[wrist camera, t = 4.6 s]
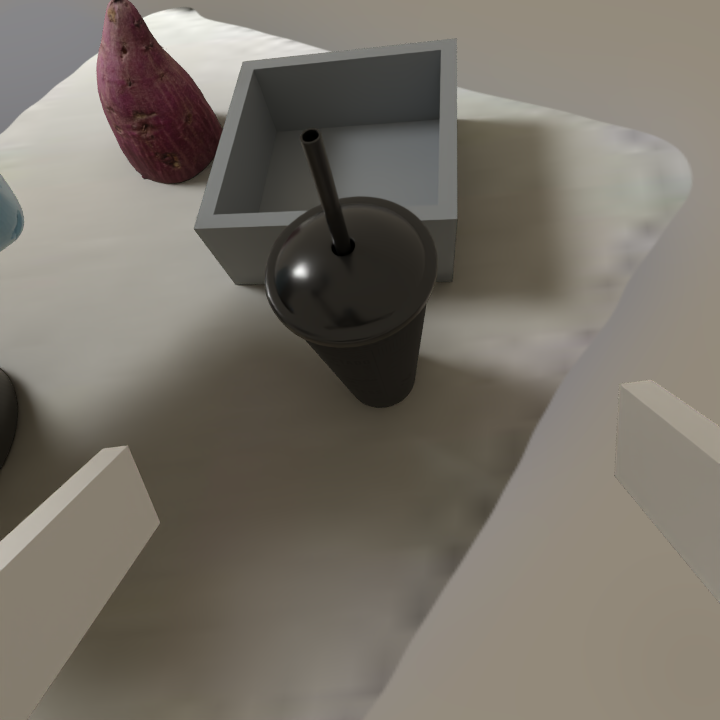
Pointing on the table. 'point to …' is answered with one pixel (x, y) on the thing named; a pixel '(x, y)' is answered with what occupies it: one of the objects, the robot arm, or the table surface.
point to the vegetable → (152, 101)
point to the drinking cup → (354, 284)
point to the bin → (334, 146)
